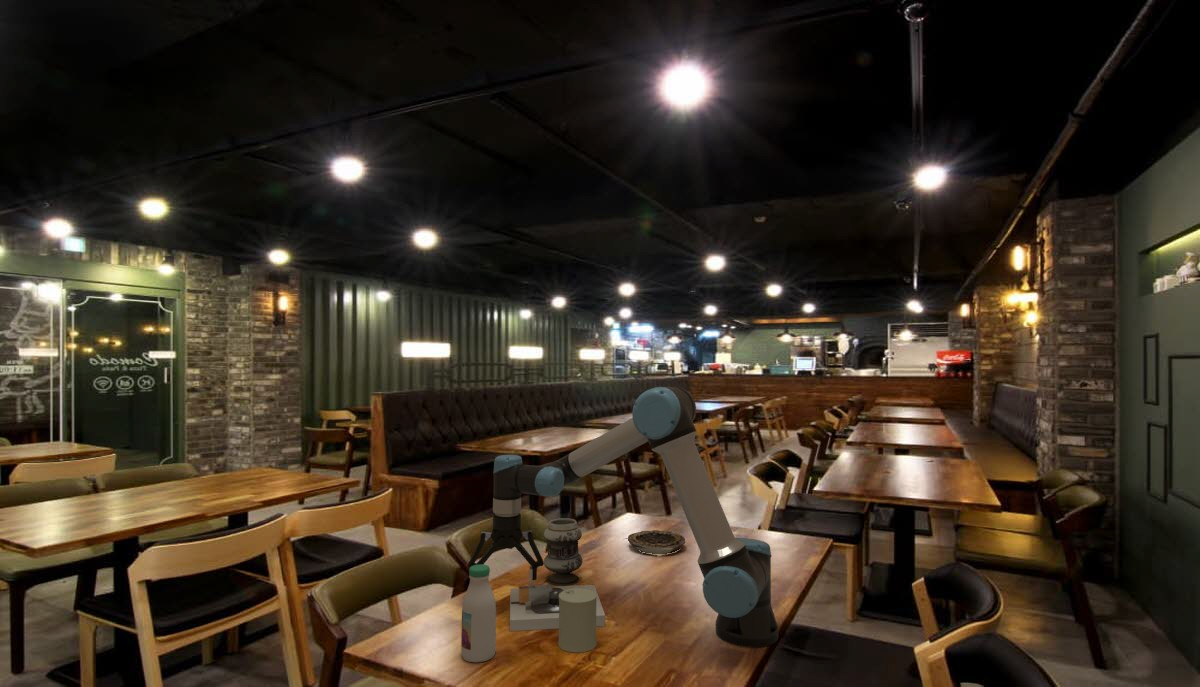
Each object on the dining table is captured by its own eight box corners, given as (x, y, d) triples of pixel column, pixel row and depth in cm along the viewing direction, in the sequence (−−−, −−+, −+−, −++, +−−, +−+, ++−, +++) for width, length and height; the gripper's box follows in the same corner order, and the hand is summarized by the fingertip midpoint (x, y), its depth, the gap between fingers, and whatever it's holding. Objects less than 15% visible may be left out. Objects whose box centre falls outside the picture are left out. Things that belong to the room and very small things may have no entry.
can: (575, 632, 155) (576, 583, 156) (604, 642, 149) (604, 592, 150) (550, 645, 148) (550, 593, 149) (579, 656, 142) (579, 603, 143)
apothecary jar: (558, 571, 201) (558, 514, 201) (590, 577, 195) (590, 519, 195) (535, 582, 190) (535, 522, 191) (568, 589, 184) (568, 528, 185)
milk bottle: (497, 647, 147) (498, 561, 147) (493, 663, 139) (494, 572, 140) (464, 647, 146) (465, 561, 147) (458, 663, 139) (459, 572, 139)
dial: (574, 595, 176) (574, 575, 176) (583, 613, 163) (583, 591, 164) (516, 600, 172) (516, 579, 172) (521, 619, 160) (521, 596, 160)
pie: (706, 546, 230) (706, 533, 230) (674, 568, 207) (674, 553, 207) (639, 535, 245) (639, 522, 245) (602, 553, 222) (602, 539, 222)
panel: (605, 626, 159) (605, 614, 159) (509, 631, 156) (509, 619, 156) (594, 594, 181) (594, 584, 181) (510, 598, 177) (510, 587, 177)
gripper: (552, 509, 174) (551, 586, 174) (461, 510, 171) (459, 589, 170) (553, 515, 167) (552, 596, 166) (458, 517, 163) (457, 600, 163)
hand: (505, 593), depth 168 cm, fingers open, 13 cm apart
